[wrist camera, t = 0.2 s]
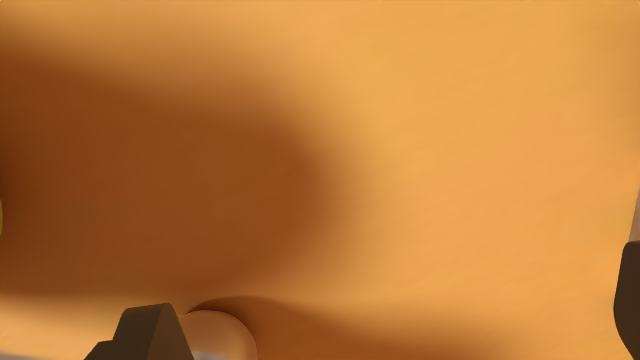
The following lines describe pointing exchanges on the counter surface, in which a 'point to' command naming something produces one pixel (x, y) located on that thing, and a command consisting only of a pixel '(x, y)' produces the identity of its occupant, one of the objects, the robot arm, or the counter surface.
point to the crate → (636, 223)
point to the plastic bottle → (217, 336)
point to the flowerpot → (1, 218)
